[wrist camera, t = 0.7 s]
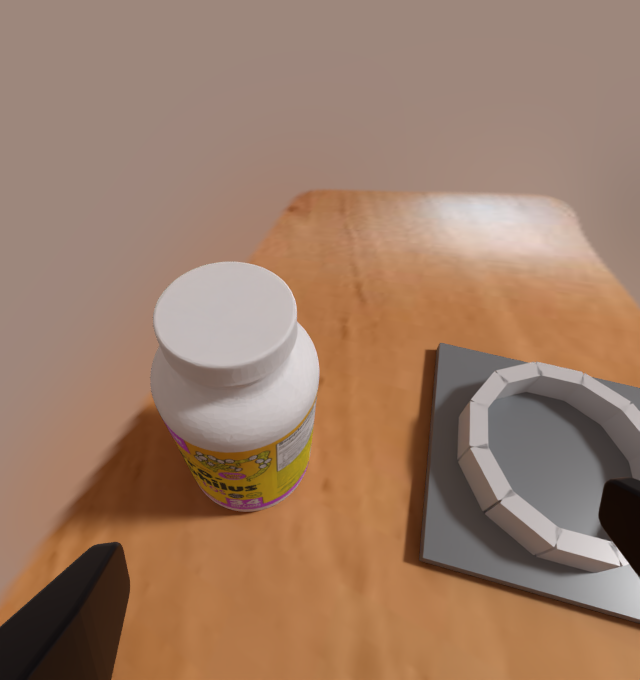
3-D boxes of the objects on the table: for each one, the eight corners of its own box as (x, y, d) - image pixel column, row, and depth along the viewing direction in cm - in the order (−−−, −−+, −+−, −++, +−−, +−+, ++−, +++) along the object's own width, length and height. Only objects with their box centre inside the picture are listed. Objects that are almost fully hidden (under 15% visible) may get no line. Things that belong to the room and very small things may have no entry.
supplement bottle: (169, 468, 23) (70, 320, 12) (246, 387, 26) (219, 220, 16) (261, 543, 20) (233, 439, 10) (332, 443, 24) (362, 293, 14)
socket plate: (711, 644, 19) (767, 643, 17) (419, 560, 20) (434, 549, 18) (639, 395, 27) (670, 373, 25) (436, 349, 29) (448, 324, 27)
